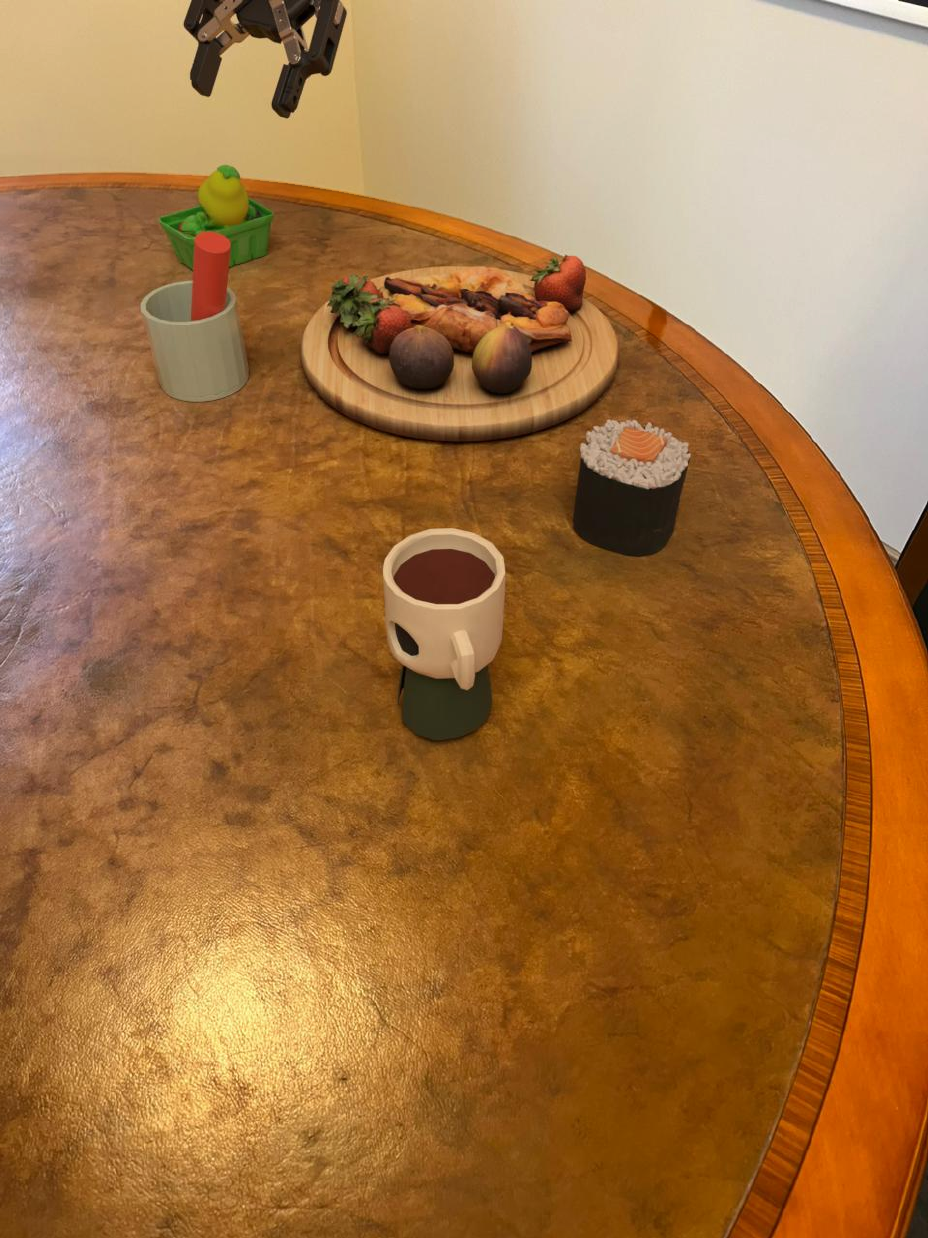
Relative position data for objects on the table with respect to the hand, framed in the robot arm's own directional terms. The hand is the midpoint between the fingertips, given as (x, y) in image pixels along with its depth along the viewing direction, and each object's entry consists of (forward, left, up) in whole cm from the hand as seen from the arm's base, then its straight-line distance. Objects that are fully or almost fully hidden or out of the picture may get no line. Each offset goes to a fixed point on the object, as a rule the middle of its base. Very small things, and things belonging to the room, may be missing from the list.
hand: (239, 102), depth 83 cm
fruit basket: (-8, +16, -22) cm, 28 cm away
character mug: (+20, -51, -22) cm, 59 cm away
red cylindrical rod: (-5, -10, -21) cm, 24 cm away
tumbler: (-5, -10, -22) cm, 25 cm away
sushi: (+34, -31, -22) cm, 51 cm away
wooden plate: (+20, -5, -22) cm, 30 cm away
